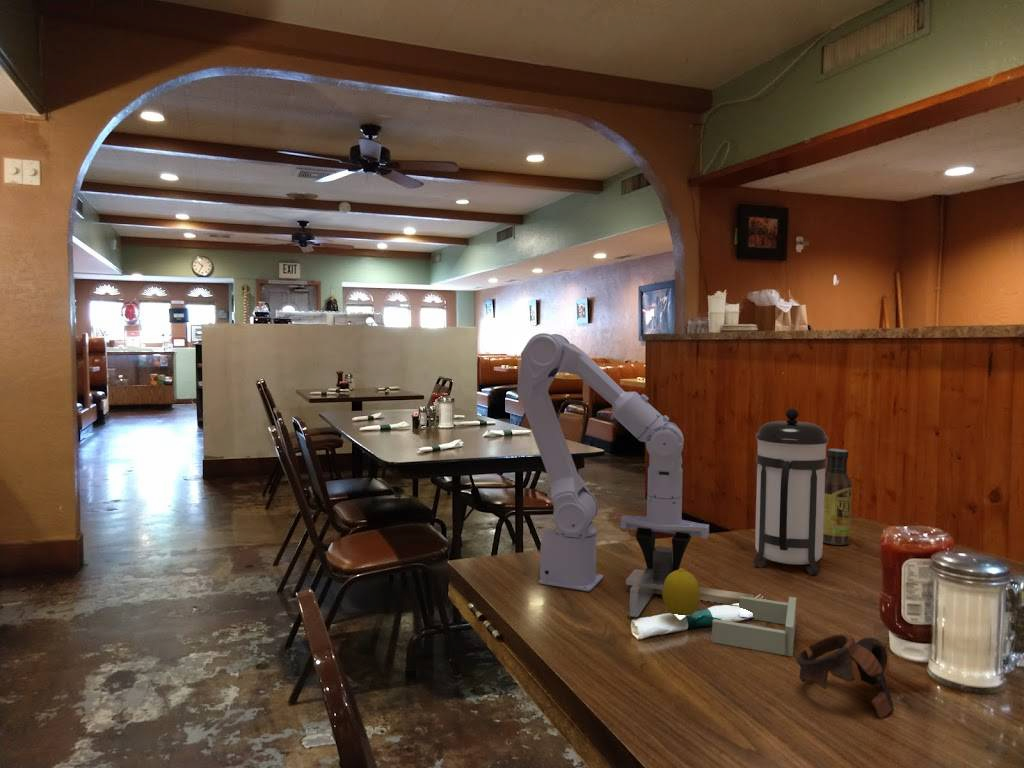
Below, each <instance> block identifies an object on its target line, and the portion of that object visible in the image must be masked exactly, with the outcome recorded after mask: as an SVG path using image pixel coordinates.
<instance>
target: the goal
mask: <svg viewBox="0 0 1024 768" xmlns="http://www.w3.org/2000/svg"><path fill="white" fill-rule="evenodd" d="M787 601H788V602H784V601H779V600H769V599H765V598H757V597H754V598H751V597H745V596H740V601H739V606H738V607H740V608H743V609H746V610H748V611H750V612H752V613H753V618H754V619H753V620H755V621H761V622H762V621H763V622H766V623H767V622H769V623H773V624H780V625H785V627H784V628H785V629H784V630H783V629H779V628H770V627H765V626H760V625H755V624H747V623H740V622H735V621H729V620H723V619H716V618H713V619H712V623H711V628H712V630H711V632H712V633H711V643H715V644H719V645H720V644H721V645H727V646H731V647H737V648H741V649H742V648H744V649H749V650H753V651H759V652H765V653H771V654H776V655H782V656H786V657H793V656H794V644H795V643H794V642H795V635H796V634H795V633H796V624H797V623H796V622H797V621H796V620H797V619H796V615H797V597H794V596H788V600H787Z"/></svg>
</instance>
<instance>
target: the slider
mask: <svg viewBox="0 0 1024 768" xmlns="http://www.w3.org/2000/svg"><path fill="white" fill-rule="evenodd" d="M672 565H673V548H672V547H671V546H663V545H662V546H661V545H655V548H654V550H653V568H652V569H647V568H645V569H644V570H643V569H638V568H637V569H635V568H634V569H633V571H632V572H631V573H630V575H628V577H626V579H625V585H627V586H631V587H629V617H633V618H638V617H639V616H640V614H641V613H642V611H643V610H644V608H645V607H646V606H647V604H648V602H649V601H650V600H651V598H652V596H653V595H654V593H653V589H660V590H663V585H664V582H665V579H666V577H667V576H668V575H669V574H670V573H672Z"/></svg>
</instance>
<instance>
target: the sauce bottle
mask: <svg viewBox="0 0 1024 768" xmlns="http://www.w3.org/2000/svg"><path fill="white" fill-rule="evenodd" d="M826 457H827V467H826V470H827V471H825V492H824V523H823V544H824V543H825V544H829V545H834V546H843V545H844V546H845V545H848V544H849V542H850V536H851V519H852V503H853V483H852V479H851V478H850V476H849V474H848V473H847V471H848V469H847V467H848V459H849V450H846V449H842V448H828V449H827V450H826Z"/></svg>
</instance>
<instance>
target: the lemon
mask: <svg viewBox="0 0 1024 768" xmlns="http://www.w3.org/2000/svg"><path fill="white" fill-rule="evenodd" d="M699 587H700V586H699V582H698V581H697V579H696V577H695V576H694V575H693V574H692V573H691V572H689V571H687V570H685V568H682V567H680V568H679V569H678V570H676V571H673V572H672V573H670V574H669V575H668V576H667V577H666V579H665V582H664V585H663V590H662V594H661V595H662V596H661V597H662V602H663V606H664V607H665V609H666V610H667V611H668V613H670V614H671V615H672V614H678V615H690V616H692V615H693V614H694V613H695V612H696V611H697V609H698V608H699V606H700V601H701V600H700V591H699ZM691 614H692V615H691Z"/></svg>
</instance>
